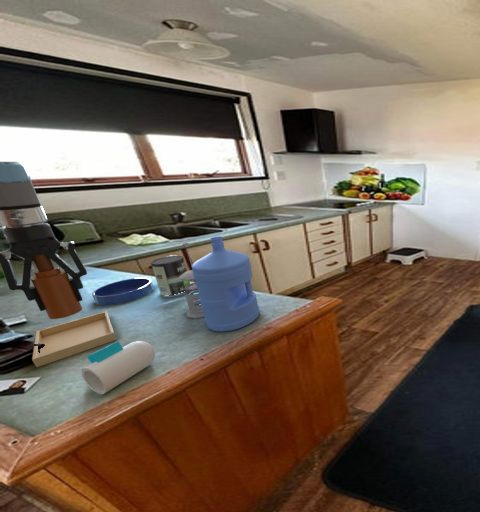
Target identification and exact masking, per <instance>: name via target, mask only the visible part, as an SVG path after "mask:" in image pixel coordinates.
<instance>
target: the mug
mask: <svg viewBox="0 0 480 512" xmlns="http://www.w3.org/2000/svg"><path fill="white" fill-rule="evenodd" d="M86 357H87V359H88V361H89V362H90V364H88V365H87V366H85V367H83V368H82V369H81V372H80V373H81V377H82V379H83V381H84V382H85V384H86V385H87V386H88V387H89V388H90V389H91V391H92V392H94V393H96V394H98V395H105V394H106V393H108V392H109V391H111V390H113V389H114V388H115V387H117V386H118V385H121V384H122V383H124V382H125V381H127V380H128V379H130V378H131V377H133V376H135V375H136V374H138V373H139V372H141V371H142V370H144V369H146V368H147V367H150V365H152V363H153V362H154V360H155V357H156V350H155V347H154V346H153V345H152V344H150V343H149V342H147V341H144V340H136V341H132V342H130V343H128V344H126V345H125V346H122V345H121V343H120V342H119V341H116V342H113V343H110V344H109V345H107V346H105V347H103V348H101V349H99V350H97V351H94V352H93V353H91V354H88V355H86Z"/></svg>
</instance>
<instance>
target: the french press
mask: <svg viewBox="0 0 480 512" xmlns="http://www.w3.org/2000/svg"><path fill="white" fill-rule="evenodd" d="M190 246H191V244H190V243H189V242H184V243H182V248H186V252H187V255H188V259H189V263H190V265H191V267H192V265H193V263H192V260H191V256H190V253H189V249H188V247H190ZM180 279H181V280H184V281H195V279H194V276H193V270H192V269H191V270H187V272H185V273H184V274H182V275H181V276H180ZM184 289H185V290H186V291H185V292H184V297H185V301H186V305H187V307H188V311H187V313H186V316H187V317H188V318H191V319H197V318H203V317H205V315H204V312H203V308H202V305H199V304H201V302H200V299H199V293H198V289H197V285H196V282H191V283H190V284H189V285H187V286H186V287H185V288H184Z"/></svg>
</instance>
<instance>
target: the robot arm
mask: <svg viewBox="0 0 480 512" xmlns="http://www.w3.org/2000/svg"><path fill="white" fill-rule="evenodd" d="M47 221H48V218H47V215H46V213H45V210H44V208H43V206H42V203H41V202H40V199H39V197H38V194H37V192H36V189H35V187H34V183H33V182H32V178H31V176H30V174H29V172H28V171H27V169H26V167H25V165H24V164H23V163H21V162H19V161H0V226H1V227H4V228H3V229H2V231H3V233H4V236H5V237H6V239H7V241H8V243H9V248H8V249H6V250H3V251H0V265H1V269H2V272H3V274H4V277H5V280H6V283H7V286H8V288H9V290H10V291H17V290H18V291H23V293H24V296H25V297H26V299H27V300H28V301H29V302H30V301H35V304H36V305H37V307H38V309H39V311H40V312H43V311H46V310H45V308H44V306H43V304H42V302H41V300H40V298H39V295H38V293H37V291H36V289H35V287H34V285H33V286H31V278H32V271H33V270H32V268H33V262H34V261H36V260H35V257H34V256H36V255H42V254H45V256H46V257H47V259H48V258H50V259H51V261H52V262H53V261H54V263H55V264H57V266H58V267H59V268H61V269H62V271H65V272H67V274H68V276H69V279H70V282H71V285H72V287H73V289H74V291H75V294H76V296H77V298H78V301H79V302H82V301H84V299H83V296H82V294H81V292H80V290H81V289H84V284H83V282H82V280H81V278H82V277H84V276H86V275H87V274H88V271H87V269H86V267H85V266H84V263H83V262H82V260H81V258H80V256H79V254H78V253H77V251H76V245H75V241H74V240H73V241H71V240H70V241H60V240H59V239H57V238H56V236H55V234H54V232H53V230H52V227H51V225H50V224H49V223H48V222H47ZM60 247H62V248H63V249H64V250H66V251H68V254H69V255H70V258H71V259H72V261H73V262H74V264H75V266H76V269H78V271H76V270H75V269H73V267H71V266H70V265H69V264H68V263H67V262H66V261H65V260H64V259H63V258H62V257H61V256H60V255H59V254H58V253H57V251H58V250H59V248H60ZM12 254H13V255H15V256H17V257H20V258H22V259H23V270H22V280H21V281H22V282H21V283H18V280H17V278H16V274H15V271H14V268H13V265H12V262H11V260H10V259H11V258H12Z"/></svg>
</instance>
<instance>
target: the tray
mask: <svg viewBox="0 0 480 512" xmlns="http://www.w3.org/2000/svg"><path fill="white" fill-rule="evenodd" d="M117 339H118V338H117V337H116V334H115V329H114V327H113V325H112V321H111V318H110V316H109V313H108V311H107V310H106V311H101V312H98V313H95V314H91V315H88V316H85V317H80V318H77V319H74V320H70V321H67V322H63V323H59V324H56V325H53V326H50V327H47V328H43V329H39V330H36V331H35V338H34V344H38V343H43V344H45V346H44V347H43V348H41V349H40V353H39V352H38V346H34V345H33V350H32V351H33V352H32V357H31V360H32V362H33V364H34V366H35V368H38V367H39V368H40V367H43V366H45V365H48V364H51V363H54V362H57V361H59V360H62V359H65V358H69V357H71V356H74V355H77V354H79V353H82V352H86V351H89V350H91V349H93V348H97V347H100V346H102V345H105V344H108V343H111V342H114V341H117Z"/></svg>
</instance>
